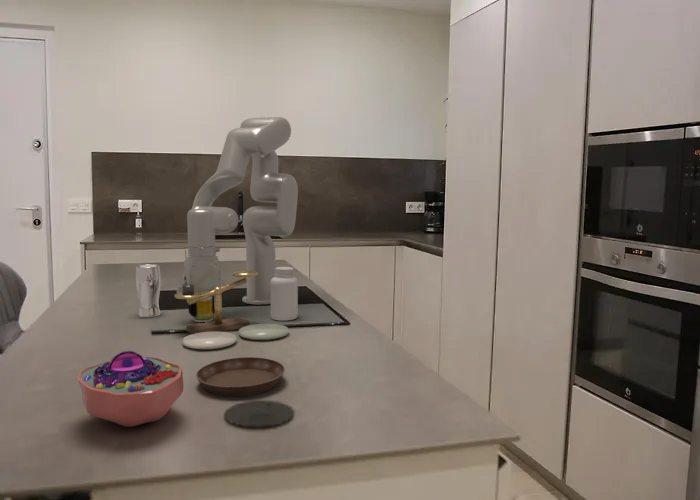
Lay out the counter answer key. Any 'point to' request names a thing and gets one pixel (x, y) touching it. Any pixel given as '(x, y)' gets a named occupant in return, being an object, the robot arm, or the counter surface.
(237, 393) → the plant saucer
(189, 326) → the brass balance
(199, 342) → the cream dish
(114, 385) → the cell model
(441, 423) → the counter surface
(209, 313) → the supplement bottle
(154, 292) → the beer glass
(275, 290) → the pill bottle
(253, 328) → the pale green dish
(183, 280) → the robot arm
